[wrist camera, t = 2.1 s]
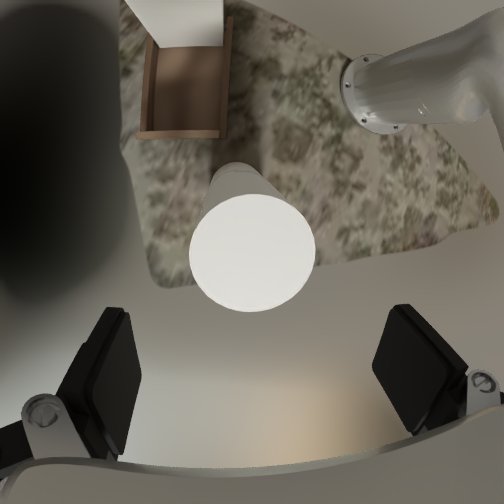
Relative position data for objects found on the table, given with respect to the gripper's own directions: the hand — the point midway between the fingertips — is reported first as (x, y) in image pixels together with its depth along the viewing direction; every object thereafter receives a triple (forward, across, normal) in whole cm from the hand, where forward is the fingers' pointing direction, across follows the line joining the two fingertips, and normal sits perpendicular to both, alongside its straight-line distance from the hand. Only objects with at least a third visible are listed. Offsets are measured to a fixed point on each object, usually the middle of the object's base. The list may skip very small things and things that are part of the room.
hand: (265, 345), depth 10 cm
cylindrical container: (+33, 0, 0) cm, 33 cm away
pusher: (+31, +7, -21) cm, 38 cm away
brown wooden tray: (+32, +6, -15) cm, 36 cm away
